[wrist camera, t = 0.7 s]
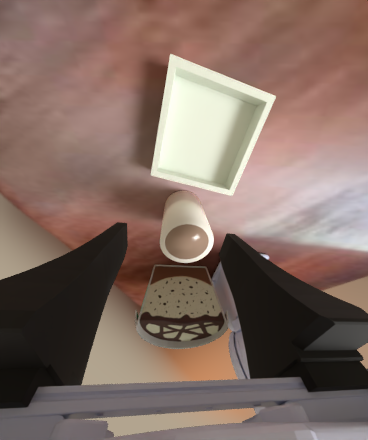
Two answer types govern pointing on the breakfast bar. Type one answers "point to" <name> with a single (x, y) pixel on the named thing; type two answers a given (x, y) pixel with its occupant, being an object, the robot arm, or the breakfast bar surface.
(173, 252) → the cup
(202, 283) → the food container
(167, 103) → the tray
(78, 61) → the breakfast bar surface
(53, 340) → the robot arm
